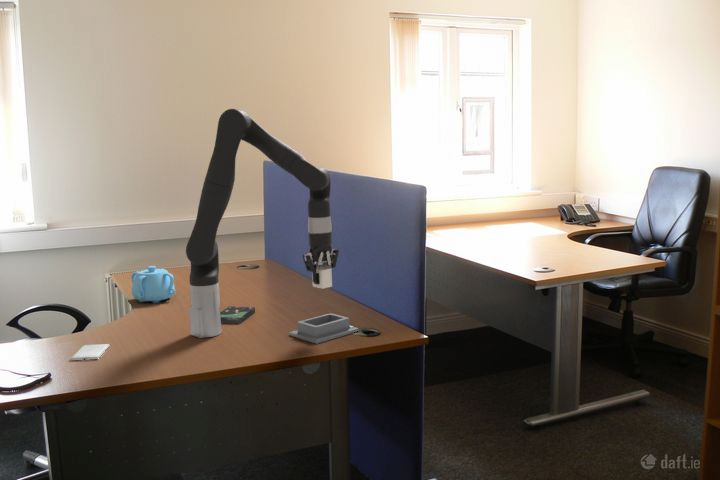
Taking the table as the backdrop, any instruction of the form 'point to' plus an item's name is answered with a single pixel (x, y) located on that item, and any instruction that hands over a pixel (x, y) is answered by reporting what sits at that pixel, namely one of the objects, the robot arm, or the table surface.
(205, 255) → the robot arm
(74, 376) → the table surface
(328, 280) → the block
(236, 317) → the disk drive
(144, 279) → the decorative pot
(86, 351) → the hard drive
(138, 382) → the table surface
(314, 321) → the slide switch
